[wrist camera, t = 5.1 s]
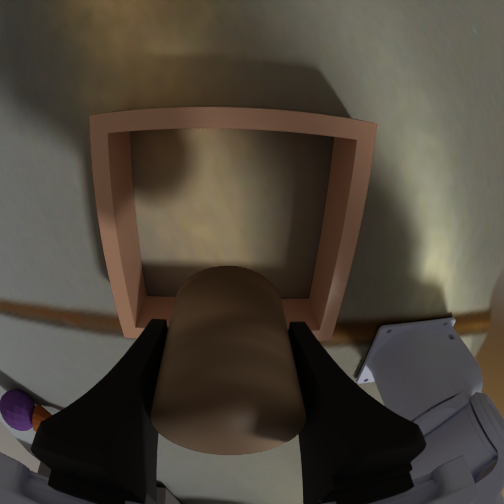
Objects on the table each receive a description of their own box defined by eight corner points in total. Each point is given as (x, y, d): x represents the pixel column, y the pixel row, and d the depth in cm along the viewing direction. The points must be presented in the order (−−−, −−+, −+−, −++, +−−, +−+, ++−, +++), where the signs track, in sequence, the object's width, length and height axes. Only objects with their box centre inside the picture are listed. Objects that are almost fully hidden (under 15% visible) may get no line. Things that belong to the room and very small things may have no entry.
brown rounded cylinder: (288, 267, 13) (322, 382, 7) (276, 349, 15) (292, 452, 10) (169, 264, 12) (134, 379, 7) (179, 347, 15) (164, 451, 9)
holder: (351, 118, 16) (377, 123, 13) (319, 308, 22) (330, 340, 19) (114, 111, 15) (89, 115, 12) (136, 305, 21) (124, 337, 18)
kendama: (130, 465, 30) (5, 427, 25) (132, 428, 35) (13, 393, 30) (128, 459, 27) (-11, 414, 22) (131, 417, 31) (-1, 377, 26)
